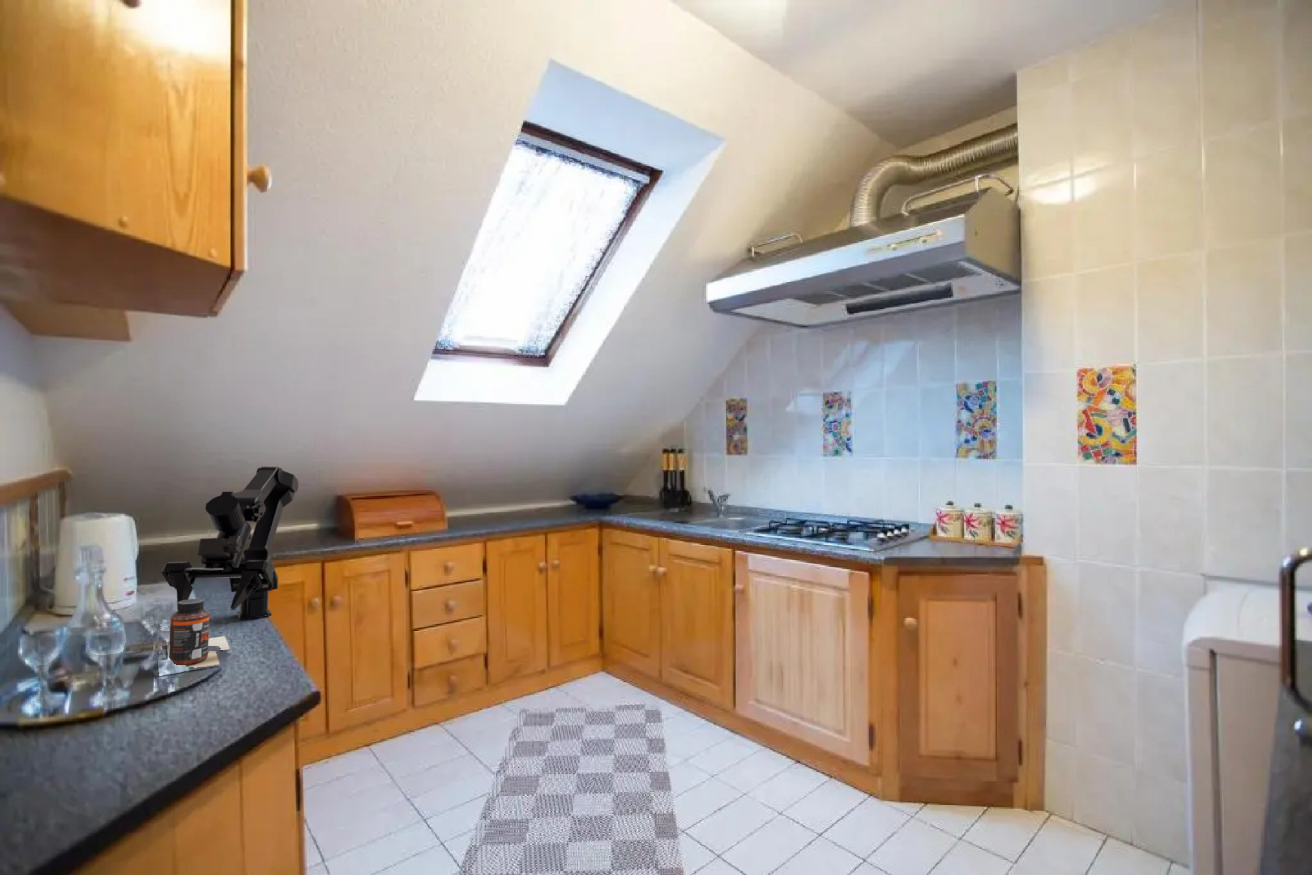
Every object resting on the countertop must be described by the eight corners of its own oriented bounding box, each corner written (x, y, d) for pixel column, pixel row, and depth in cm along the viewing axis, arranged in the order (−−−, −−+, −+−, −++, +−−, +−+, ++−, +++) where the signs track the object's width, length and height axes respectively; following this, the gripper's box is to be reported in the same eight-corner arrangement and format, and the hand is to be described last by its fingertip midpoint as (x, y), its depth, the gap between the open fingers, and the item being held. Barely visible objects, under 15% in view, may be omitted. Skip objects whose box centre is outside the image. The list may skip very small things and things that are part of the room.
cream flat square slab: (165, 645, 129) (165, 644, 129) (225, 636, 135) (225, 635, 135) (167, 659, 121) (167, 658, 121) (230, 649, 127) (230, 648, 127)
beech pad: (157, 662, 119) (157, 659, 119) (215, 653, 125) (215, 650, 125) (158, 676, 112) (158, 673, 112) (219, 666, 118) (219, 663, 118)
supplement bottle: (207, 663, 118) (209, 602, 118) (167, 668, 114) (169, 606, 115) (208, 653, 123) (210, 595, 123) (169, 659, 119) (171, 599, 119)
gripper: (167, 522, 128) (135, 589, 117) (270, 521, 133) (248, 586, 122) (184, 553, 136) (156, 619, 125) (281, 552, 140) (262, 615, 130)
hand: (206, 610), depth 125 cm, fingers open, 9 cm apart
